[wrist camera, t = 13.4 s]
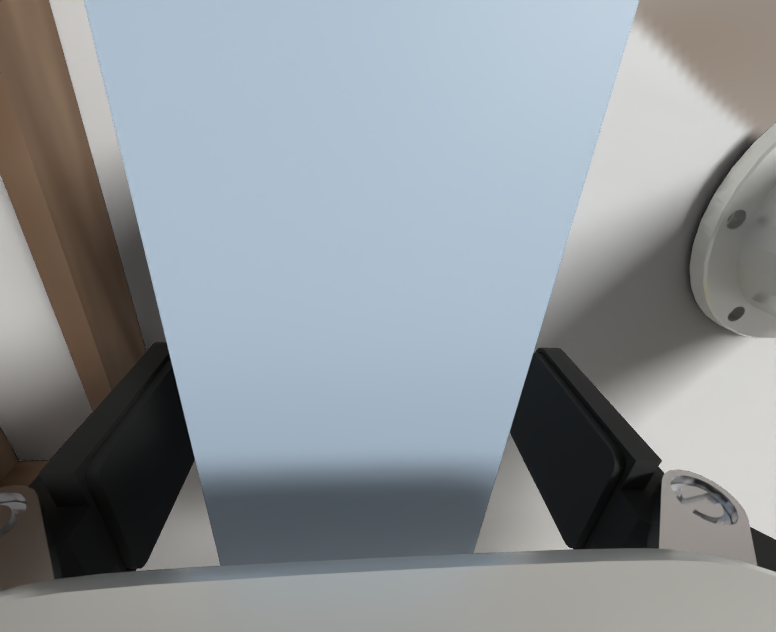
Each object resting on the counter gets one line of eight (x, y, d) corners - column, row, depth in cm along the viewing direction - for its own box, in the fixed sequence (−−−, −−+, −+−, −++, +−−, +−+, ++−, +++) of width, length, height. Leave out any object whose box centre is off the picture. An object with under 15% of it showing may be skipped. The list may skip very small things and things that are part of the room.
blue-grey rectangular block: (417, 88, 14) (641, -7, 4) (388, 410, 21) (431, 690, 11) (282, 76, 13) (62, -86, 3) (300, 412, 21) (256, 712, 10)
